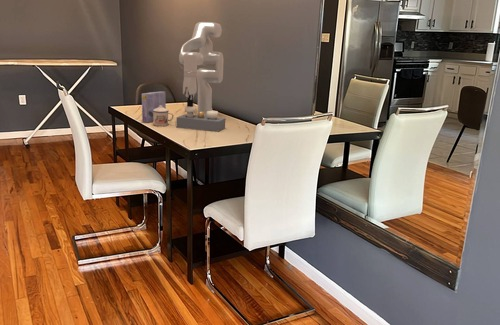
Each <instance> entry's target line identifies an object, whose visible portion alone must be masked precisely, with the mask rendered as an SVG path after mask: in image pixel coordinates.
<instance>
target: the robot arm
mask: <svg viewBox="0 0 500 325" xmlns="http://www.w3.org/2000/svg"><path fill="white" fill-rule="evenodd" d="M222 30H223V29H222V25H221V24H220V23H217V22H213V21H212V22H211V21H199V22H196V24H194V28H193V32H192V36H191V38H190V39H189V40H187V41H186V42H185V43H183V44H182V46H181V47H180V51H179V55H178V61H179V63H180V64H181V65H183V82H182V94H183V95H185V98H186V106H188V107H193V106H194V97H195V96H196V94H197V112H194V115H198V112H199V111H203V112H204V116H207V111H213V107H212V106H213V105H212V104H213V102H212V101H213V98H212V97H213V89H212V87H211V85H210V84H220V83H222V82H223V79H224V54H223V53H222V52H220V51H216V50H215V51H214V50H213V47H214V46H213V45H214V44H213V41H212V40H211V39H210V38H220V37H221V35H222V32H223V31H222ZM198 49H199V51H198V52H196V51H194V50H198ZM198 66H205V67H200V68H198ZM212 67H215V68H212Z"/></svg>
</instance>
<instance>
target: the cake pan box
mask: <svg viewBox="0 0 500 325" xmlns="http://www.w3.org/2000/svg"><path fill="white" fill-rule="evenodd" d="M166 99H167V98H166V91H153V92H146V93H145V92H144V93H143V92H142V93H141V114H142V115H141V119H142V120H141V121H142V123H146V124H147V123H148V124H149V123H154V119H153V110H154V109H156V108H158V107H159V106H160V105H161V106H162V107H164V108H165V109H167V108H166Z"/></svg>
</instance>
